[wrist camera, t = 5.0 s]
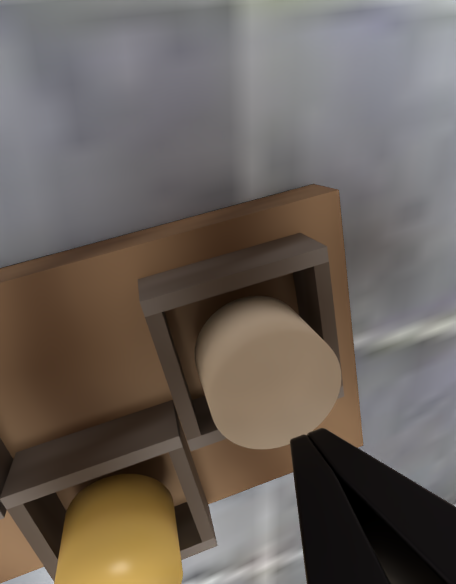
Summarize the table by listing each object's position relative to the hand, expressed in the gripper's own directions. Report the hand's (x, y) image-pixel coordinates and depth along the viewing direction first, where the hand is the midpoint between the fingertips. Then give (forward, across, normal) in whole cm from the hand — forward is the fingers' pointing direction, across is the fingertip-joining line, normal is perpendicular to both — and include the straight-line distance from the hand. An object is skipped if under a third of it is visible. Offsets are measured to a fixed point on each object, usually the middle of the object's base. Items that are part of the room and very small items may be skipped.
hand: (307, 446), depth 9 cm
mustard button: (+4, +6, +5) cm, 9 cm away
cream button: (+4, 0, 0) cm, 4 cm away
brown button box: (+8, +6, +2) cm, 10 cm away
